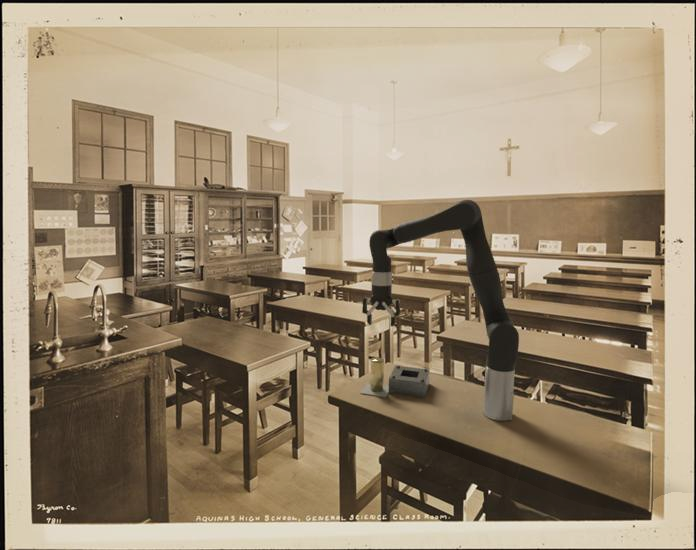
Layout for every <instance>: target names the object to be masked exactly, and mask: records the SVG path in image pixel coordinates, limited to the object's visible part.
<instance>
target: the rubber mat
mask: <svg viewBox="0 0 696 550" xmlns="http://www.w3.org/2000/svg"><path fill="white" fill-rule="evenodd" d="M370 386H371V382H366V384H365V385H364V387H363V388H362V390H361V392H360V395H367V396H372V397H373V396H374V397H382V398H387V397H388V394H390V393H389V384H387V385H386V384H383V391H381V392H373V391H371V389H370Z"/></svg>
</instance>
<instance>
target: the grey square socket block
mask: <svg viewBox="0 0 696 550" xmlns="http://www.w3.org/2000/svg"><path fill="white" fill-rule="evenodd" d="M430 371H431V370H430V369H428V368H419V367H412V366H403V365H395V366H394V367H393V370H392V372H391V373H390V375H389V377H388V386H389V393H388V394H394V395H401V396H407V397H414V398H421V399H422V398H423V399H426V396H427V394H428V389H429V385H430Z"/></svg>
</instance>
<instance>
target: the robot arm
mask: <svg viewBox="0 0 696 550" xmlns="http://www.w3.org/2000/svg"><path fill="white" fill-rule="evenodd" d="M457 230H459V231H461V232H460V233H461V235H462V238H463V241H464V245H465V259H466V260H465V261H466V268H467V273H468V278H469V280H470V283H471V286H472V288H473V291H474V294H475V296H476V299H477V300H478V303H479V305H480V307H481V310H482V314H483V319H484V324H485V330H486V335H487V338H488V339H489V340H488V349H487V350H488V352H487V353H488V354H487V356H486V361H485V375H484V387H483V388H484V391H483V392H484V393H483V406H482V414H483V415H484V416H485V417H486V418H488V419H491V420H493V421H498V422H502V421H503V422H504V421H513V411H514V398H515V397H514V396H515V393H514V387H515V374H516V371H515V370H516V364H517V361H518V356H519V355H518V354H519V344H520V334H519V332H518V330H517V328H516V327H515V325H514V324H513V323H512V321H511V319H510V317H509V315H508V312H507V309H506V307H505V304H504V298H503V289H502V282H501V277H500V274H499V270H498V267H497V264H496V262H495V258H494V256H493V252H492V249H491V246H490V244H489V242H488V238H487V234H486V231H485V226H484V220H483V216H482V210H481V208H480V206H479V204H478V203H477V202H476V201H474V200H471V199H463V200H461V201H457V202H455V203H454V204H453V205H451V206H448V207H447V208H445V209H443V210H441V211H439V212H437V213H434V214H432V215H428V216H424V217H420V218H416V219H415V218H414V219H411V220H409V221H406V222H402V223H399V224H397V225H395V226H394V227H391V228H388V229H379V230H378V229H377V230H375V231H373V232H372V233H371V235H370V237H369V241H368V242H369V249H370V254H371V260H372V271H371V273H372V274H371V281H370V282H371V297H367V296H365V297H364V298H363V299H362V310H361V311H362V314H365V315H366V316H367V317H366V323H367V324H368V325H369V326H371V325H372V323H373V322H372V321H373V320H372V319H373V316H372V315H373V314H372V313H373V312H374V311H375V310H376V311H380V310H381V311H387V313H388V314H390V327H394V326H395V325H396V317H399V316H400V315H401V299H400V298H397V299H393V297H392V294H393V293H392V292H393V291H392V289H393V288H392V282H393V281H392V280H393V279H392V278H393V277H392V276H393V275H392V259H391V257H390V256H389V255H388V251H387V249H390V248H393V247H396V246H399V245H401V244H407V243H409V242H414V241H417V240H420V239H422V238H426V237H428V236H431V235H434V234H437V233H442V232H448V231H449V232H450V231H457ZM369 303H371V305H372V306H371V307H370V308H369V310H368V304H369ZM392 303H393V305H394V306H395V311H394V309H393V307H392V306H391V305H392Z"/></svg>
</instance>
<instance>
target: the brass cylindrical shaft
mask: <svg viewBox="0 0 696 550" xmlns="http://www.w3.org/2000/svg"><path fill="white" fill-rule="evenodd" d="M384 363H385V360H384V358H383V357H372V358H371V359H370V383H371V386H370V389H371V391H373V392H381V391H383V385H384V380H385V379H384V375H385V374H384V370H385V369H384V368H385V367H384V366H385V364H384Z"/></svg>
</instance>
